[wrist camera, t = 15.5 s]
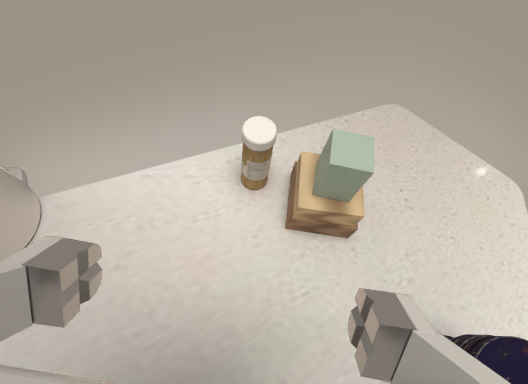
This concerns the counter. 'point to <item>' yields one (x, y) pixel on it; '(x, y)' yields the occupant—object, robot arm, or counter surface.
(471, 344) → the storage jar
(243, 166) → the sprinkles bottle
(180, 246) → the counter surface
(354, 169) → the sage block
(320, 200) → the oak block
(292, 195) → the walnut block
